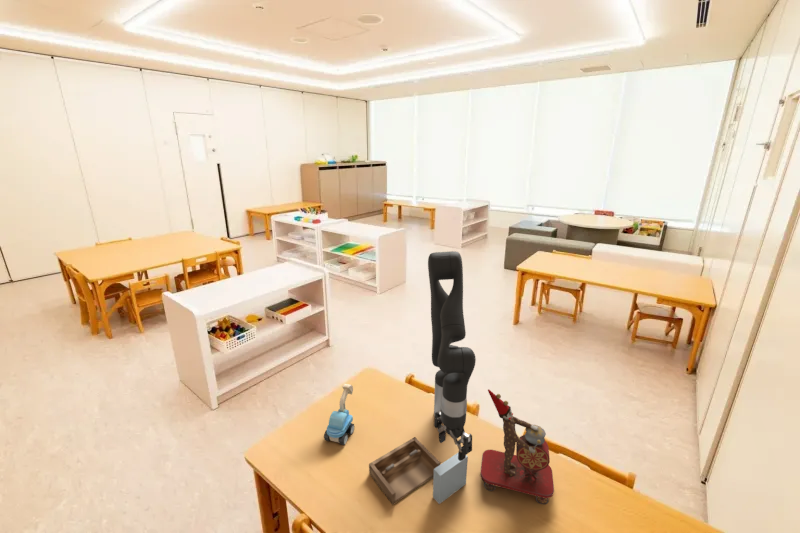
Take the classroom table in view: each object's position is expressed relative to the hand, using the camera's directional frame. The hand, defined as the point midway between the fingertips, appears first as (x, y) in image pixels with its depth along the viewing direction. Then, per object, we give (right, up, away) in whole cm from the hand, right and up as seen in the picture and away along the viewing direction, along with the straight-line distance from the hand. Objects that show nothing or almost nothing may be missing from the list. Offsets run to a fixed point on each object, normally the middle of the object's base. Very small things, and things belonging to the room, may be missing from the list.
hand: (451, 449), depth 112 cm
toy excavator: (-39, -8, +31) cm, 50 cm away
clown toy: (+22, -15, +8) cm, 29 cm away
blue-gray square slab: (0, -16, +6) cm, 17 cm away
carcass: (-15, -14, +12) cm, 24 cm away
